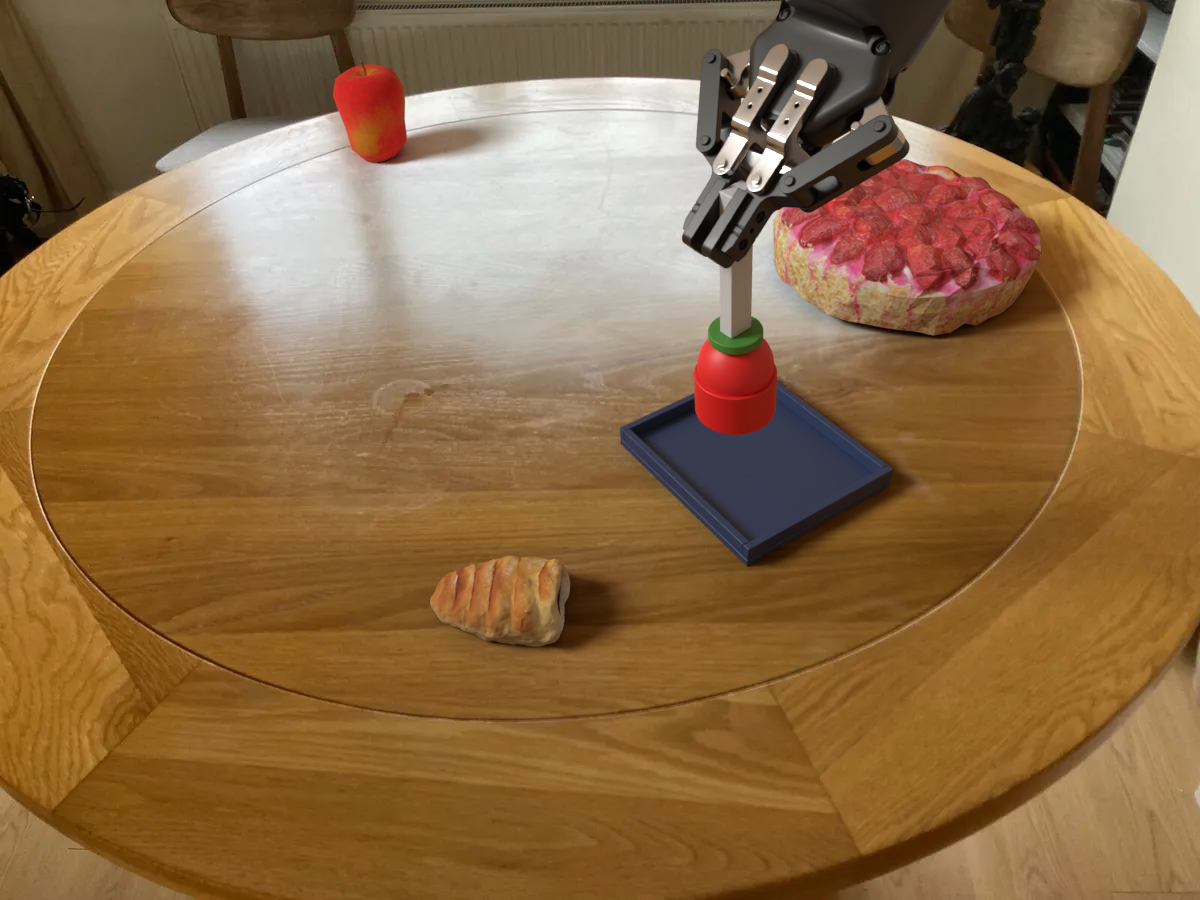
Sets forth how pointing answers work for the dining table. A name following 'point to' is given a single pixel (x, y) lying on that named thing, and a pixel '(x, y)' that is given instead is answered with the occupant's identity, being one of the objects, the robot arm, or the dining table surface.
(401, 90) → the apple
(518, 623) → the pastry
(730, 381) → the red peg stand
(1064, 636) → the dining table surface
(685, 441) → the tray
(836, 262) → the cake
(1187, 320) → the dining table surface
